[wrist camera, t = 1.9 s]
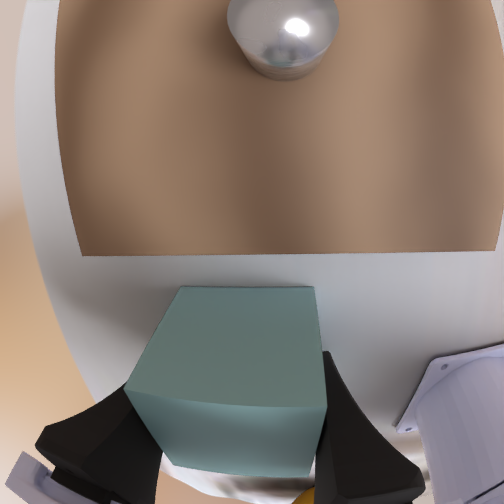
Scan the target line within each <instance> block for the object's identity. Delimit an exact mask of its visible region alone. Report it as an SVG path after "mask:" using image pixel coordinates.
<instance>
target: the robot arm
mask: <svg viewBox="0 0 504 504" xmlns="http://www.w3.org/2000/svg"><path fill="white" fill-rule="evenodd" d="M322 355H323V364H324V375H325V385H326V397H327V410H326V414H325V418H324V422H323V426H322V430H321V434H320V438H319V442H318V446H317V449H316V460H315V490H314V504H413V503H412V501H413V500H414V499H416V498H417V497H418V496H420V495H421V494H422V493H423V492H424V491H425V489H426V487H425V482H424V478H423V476H422V473H421V471H420V468H419V467H418V466H416V465H415V464H414V463H412V462H411V461H410V460H408V459H407V458H406V457H405V456H403V455H402V454H401V453H400V452H399V451H398V450H396V449H395V448H394V447H393V446H392V445H391V444H390V443H389V442H388V441H387V440H386V439H385V438H384V437H383V436H382V435H381V434H380V433H379V432H378V431H377V429H376V428H375V427H374V426H373V425H372V424H371V422H370V421H369V420H368V419H367V417H366V416H365V415H364V413H363V412H362V411H361V409H360V408H359V406H358V405H357V403H356V402H355V400H354V399H353V397H352V396H351V394H350V392H349V391H348V389H347V387H346V385H345V384H344V382H343V380H342V378H341V376H340V374H339V372H338V370H337V368H336V366H335V364H334V361H333V359H332V356H331V353H330V352H329V351H322ZM126 383H127V382H126ZM126 383H124V384H123V385H122V386H121V387H120V388H119V389H117V390H116V391H115V392H113V393H112V394H111V395H109V396H108V397H106V398H105V399H103V400H102V401H100V402H99V403H97V404H95V405H94V406H92V407H90V408H88V409H87V410H85V411H83V412H81V413H79V414H77V415H75V416H73V417H70V418H68V419H65V420H63V421H60V422H57V423H54V424H51V425H48V426H46V427H45V428H44V430H43V431H42V433H41V435H40V437H39V438H38V440H37V442H36V443H35V447H36V449H37V450H38V451H39V452H40V453H41V454H42V455H43V456H44V457H45V458H46V459H48V460H49V461H50V462H51V463H52V464H53V465H55V466H56V467H55V469H54V471H53V472H52V471H50V470H49V469H48V468H47V467H46V466H44V465H43V464H42V463H41V462H39V461H38V460H36V459H35V458H33V457H32V456H30V455H28V454H27V453H25V452H22V453H21V455H20V457H19V459H18V461H17V462H16V464H15V466H14V468H13V469H12V471H11V473H10V475H9V477H8V479H7V481H6V483H5V485H6V486H7V487H8V488H10V489H11V490H12V491H13V492H14V493H16V494H17V495H18V496H19V497H21V498H22V499H23V500H24V501H26V502H27V503H28V504H155V495H156V486H157V479H158V473H159V468H160V463H161V458H162V453H163V450H162V449H161V448H160V446H159V445H158V443H157V442H156V440H155V439H154V438H153V436H152V435H151V433H150V432H149V430H148V429H147V427H146V425H145V424H144V422H143V421H142V419H141V418H140V416H139V414H138V413H137V411H136V410H135V408H134V406H133V405H132V403H131V401H130V400H129V398H128V396H127V394H126V393H125V391H124V387H125V385H126ZM415 430H419V433H420V437H421V441H422V445H423V449H424V453H425V457H426V461H427V466H428V470H429V475H430V480H431V485H432V490H433V496H434V501H435V504H504V344H501V345H497V346H493V347H489V348H485V349H480V350H476V351H471V352H467V353H462V354H457V355H451V356H446V357H440V358H436V359H434V360H433V361H432V362H431V363H430V364H429V366H428V368H427V370H426V372H425V375H424V377H423V379H422V381H421V383H420V385H419V387H418V389H417V391H416V393H415V395H414V397H413V399H412V400H411V402H410V404H409V406H408V408H407V410H406V411H405V413H404V415H403V417H402V418H401V420H400V422H399V424H398V425H397V427H396V432H397V433H405V432H410V431H415Z"/></svg>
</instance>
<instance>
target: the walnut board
mask: <svg viewBox="0 0 504 504" xmlns="http://www.w3.org/2000/svg"><path fill="white" fill-rule="evenodd" d="M230 1H231V0H60V3H59V10H58V19H57V29H56V44H55V103H56V118H57V129H58V139H59V147H60V155H61V162H62V168H63V174H64V180H65V186H66V191H67V196H68V201H69V206H70V210H71V215H72V219H73V223H74V227H75V231H76V235H77V239H78V242H79V246H80V249H81V253H82V256H160V255H250V254H327V253H396V252H457V251H495V248H496V244H497V240H498V235H499V230H500V225H501V220H502V214H503V208H504V55H503V49H502V44H501V39H500V34H499V30H498V26H497V22H496V18H495V14H494V10H493V7H492V4H491V0H333V1H334V3H335V4H336V7H337V9H338V14H339V27H338V30H337V33H336V35H335V37H334V39H333V41H332V42H331V44H330V46H329V48H328V49H327V51H326V53H325V54H324V56H323V58H322V60H321V61H320V63H319V65H318V66H317V68H316V69H315V70H314V71H313V72H312V73H311V74H309V75H308V76H306V77H304V78H302V79H299V80H295V81H288V82H285V81H276V80H272V79H269V78H267V77H265V76H263V75H261V74H260V73H258V72H257V71H256V70H255V69H254V68H253V67H252V66H251V64H250V63H249V61H248V59H247V58H246V56H245V54H244V53H243V51H242V49H241V48H240V46H239V45H238V43H237V41H236V40H235V38H234V36H233V35H232V33H231V31H230V29H229V26H228V21H227V11H228V6H229V3H230Z"/></svg>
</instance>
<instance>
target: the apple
mask: <svg viewBox="0 0 504 504" xmlns="http://www.w3.org/2000/svg"><path fill="white" fill-rule="evenodd" d="M314 490H315V487H313V488H310V489H308V490H306V491H304V492H303V493H302V494H301V495H300V496H298V497H297V498H296V499H295V500H294V502H293V503H292V504H314Z"/></svg>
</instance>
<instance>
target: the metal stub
mask: <svg viewBox="0 0 504 504" xmlns="http://www.w3.org/2000/svg"><path fill="white" fill-rule="evenodd" d="M227 21H228V26H229V29H230V31H231V33H232V35H233V36H234V38H235V40H236V41H237V43H238V45H239V46H240V48H241V49H242V51H243V53H244V54H245V56H246V58H247V59H248V61H249V63H250V64H251V66H252V67H253V68H254V69H255V70H256V71H257V72H258V73H260V74H261V75H263V76H265V77H267V78H269V79H272V80H276V81H285V82H288V81H295V80H299V79H302V78H304V77H306V76H308V75H309V74H311V73H312V72H313V71H314V70H315V69H316V68H317V66H318V65H319V63H320V61H321V60H322V58H323V56H324V54H325V53H326V51H327V49H328V48H329V46H330V44H331V42H332V41H333V39H334V37H335V35H336V33H337V30H338V27H339V14H338V9H337V7H336V4H335V3H334V1H333V0H231V1H230V3H229V6H228V11H227Z"/></svg>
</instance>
